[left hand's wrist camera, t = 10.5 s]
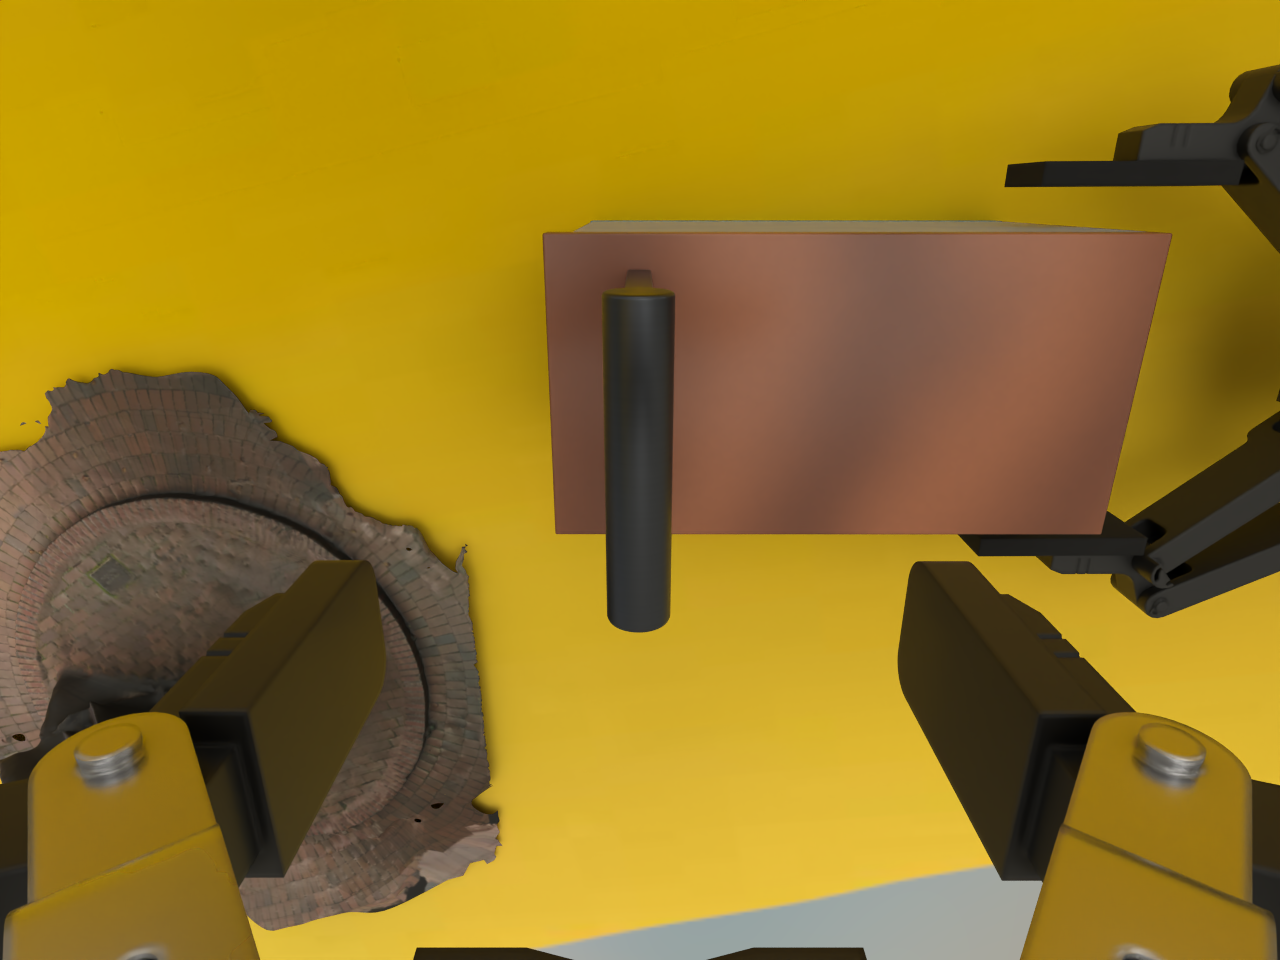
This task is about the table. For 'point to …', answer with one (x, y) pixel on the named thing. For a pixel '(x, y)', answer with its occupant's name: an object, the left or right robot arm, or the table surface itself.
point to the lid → (836, 386)
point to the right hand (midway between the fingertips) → (991, 369)
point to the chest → (829, 226)
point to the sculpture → (232, 620)
